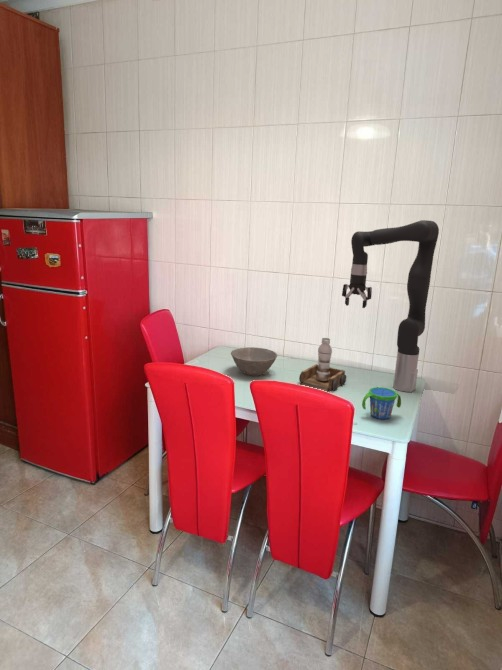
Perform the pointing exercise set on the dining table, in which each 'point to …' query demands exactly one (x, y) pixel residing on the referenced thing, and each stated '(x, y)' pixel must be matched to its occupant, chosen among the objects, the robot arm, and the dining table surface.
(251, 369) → the ceramic bowl
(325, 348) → the grey ridged cylindrical piece
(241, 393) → the dining table surface
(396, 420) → the dining table surface
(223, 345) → the dining table surface
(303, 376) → the tray
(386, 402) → the snack cup
